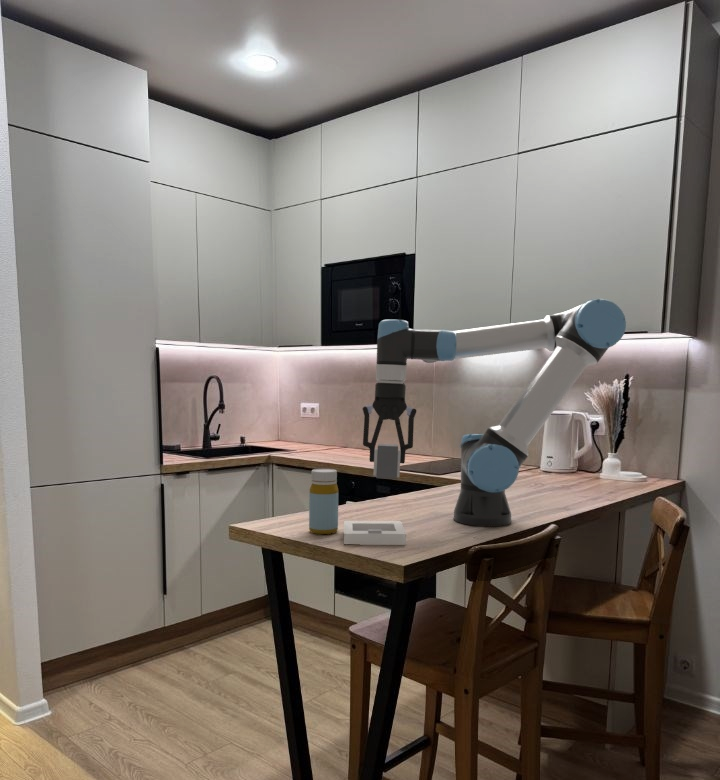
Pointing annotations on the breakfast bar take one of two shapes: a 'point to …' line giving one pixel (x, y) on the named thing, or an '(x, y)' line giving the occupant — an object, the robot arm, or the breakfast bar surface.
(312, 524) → the bottle
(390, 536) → the socket plate
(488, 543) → the breakfast bar surface
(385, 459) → the plug
